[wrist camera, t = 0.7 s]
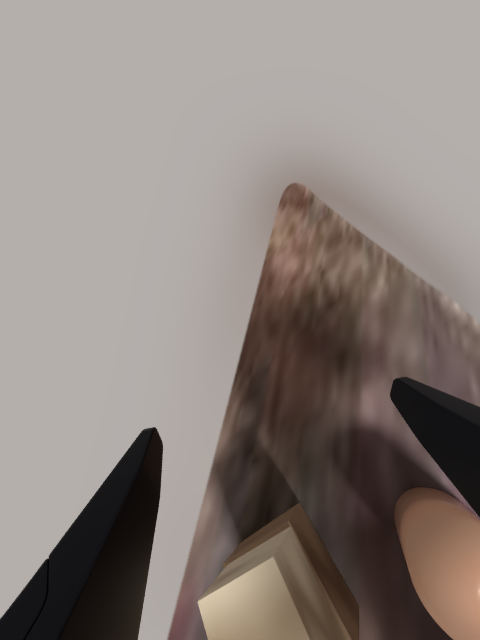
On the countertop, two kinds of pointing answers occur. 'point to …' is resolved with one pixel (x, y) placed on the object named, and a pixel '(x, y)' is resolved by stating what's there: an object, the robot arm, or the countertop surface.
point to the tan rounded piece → (442, 557)
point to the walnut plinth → (311, 564)
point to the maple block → (269, 597)
